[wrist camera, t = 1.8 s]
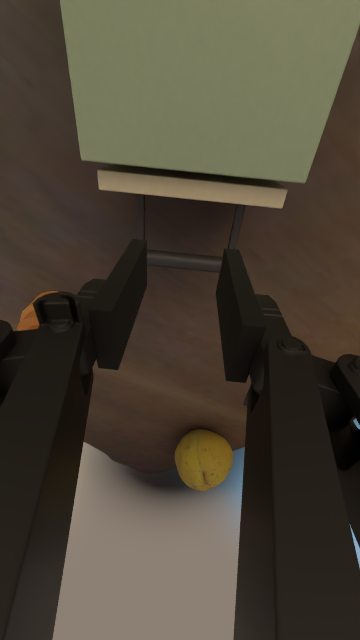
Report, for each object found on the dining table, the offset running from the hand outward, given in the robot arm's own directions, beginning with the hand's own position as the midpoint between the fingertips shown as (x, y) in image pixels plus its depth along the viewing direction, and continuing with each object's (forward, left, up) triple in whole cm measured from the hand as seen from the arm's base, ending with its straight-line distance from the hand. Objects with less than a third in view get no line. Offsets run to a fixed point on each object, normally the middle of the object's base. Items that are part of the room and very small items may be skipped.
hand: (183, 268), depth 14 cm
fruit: (+22, -38, -15) cm, 46 cm away
